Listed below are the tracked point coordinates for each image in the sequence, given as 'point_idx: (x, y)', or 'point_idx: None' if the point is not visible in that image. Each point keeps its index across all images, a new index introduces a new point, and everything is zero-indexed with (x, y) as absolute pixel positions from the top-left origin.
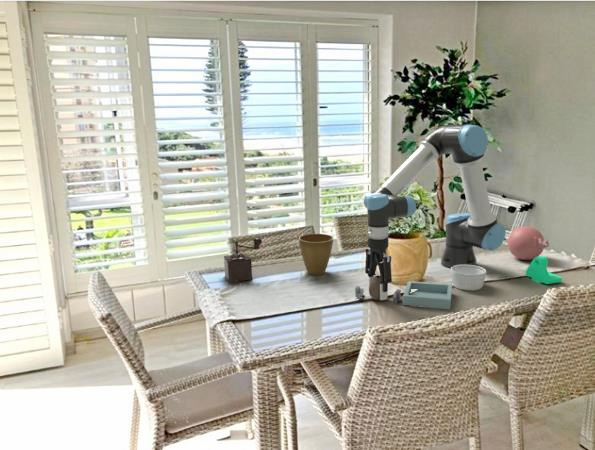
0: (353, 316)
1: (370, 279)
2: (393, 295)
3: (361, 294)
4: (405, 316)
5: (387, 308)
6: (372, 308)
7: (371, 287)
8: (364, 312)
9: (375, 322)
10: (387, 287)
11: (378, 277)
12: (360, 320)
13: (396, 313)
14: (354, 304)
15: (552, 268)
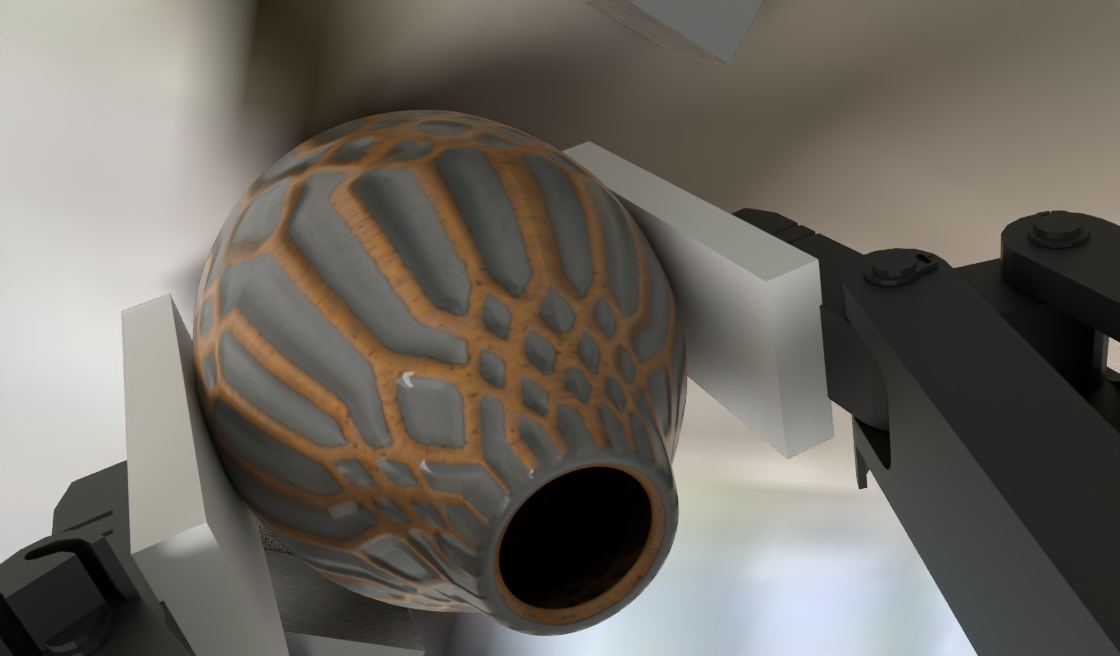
0: (859, 642)
1: (283, 647)
2: (665, 23)
3: (321, 608)
4: (1115, 25)
5: (810, 203)
6: (736, 419)
7: (550, 552)
8: (812, 527)
9: None
10: (824, 242)
11: (666, 540)
12: None
13: (996, 120)
14: (528, 649)
15: None
